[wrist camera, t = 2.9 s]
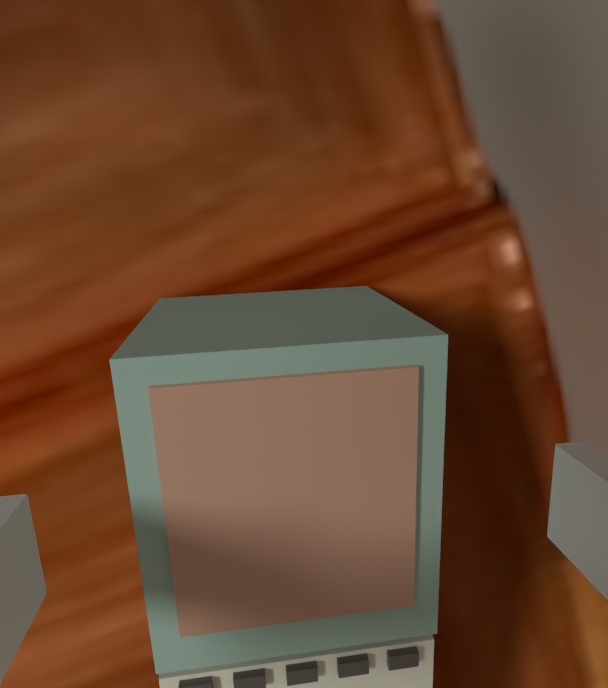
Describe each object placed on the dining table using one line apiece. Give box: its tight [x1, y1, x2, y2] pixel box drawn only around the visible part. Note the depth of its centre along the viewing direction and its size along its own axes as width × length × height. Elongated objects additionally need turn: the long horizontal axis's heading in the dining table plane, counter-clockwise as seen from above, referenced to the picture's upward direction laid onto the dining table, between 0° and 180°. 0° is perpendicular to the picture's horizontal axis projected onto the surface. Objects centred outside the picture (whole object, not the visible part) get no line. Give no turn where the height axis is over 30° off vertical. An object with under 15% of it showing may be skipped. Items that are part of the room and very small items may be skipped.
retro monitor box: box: [109, 286, 448, 674], centre depth 17 cm, size 9×8×8 cm
